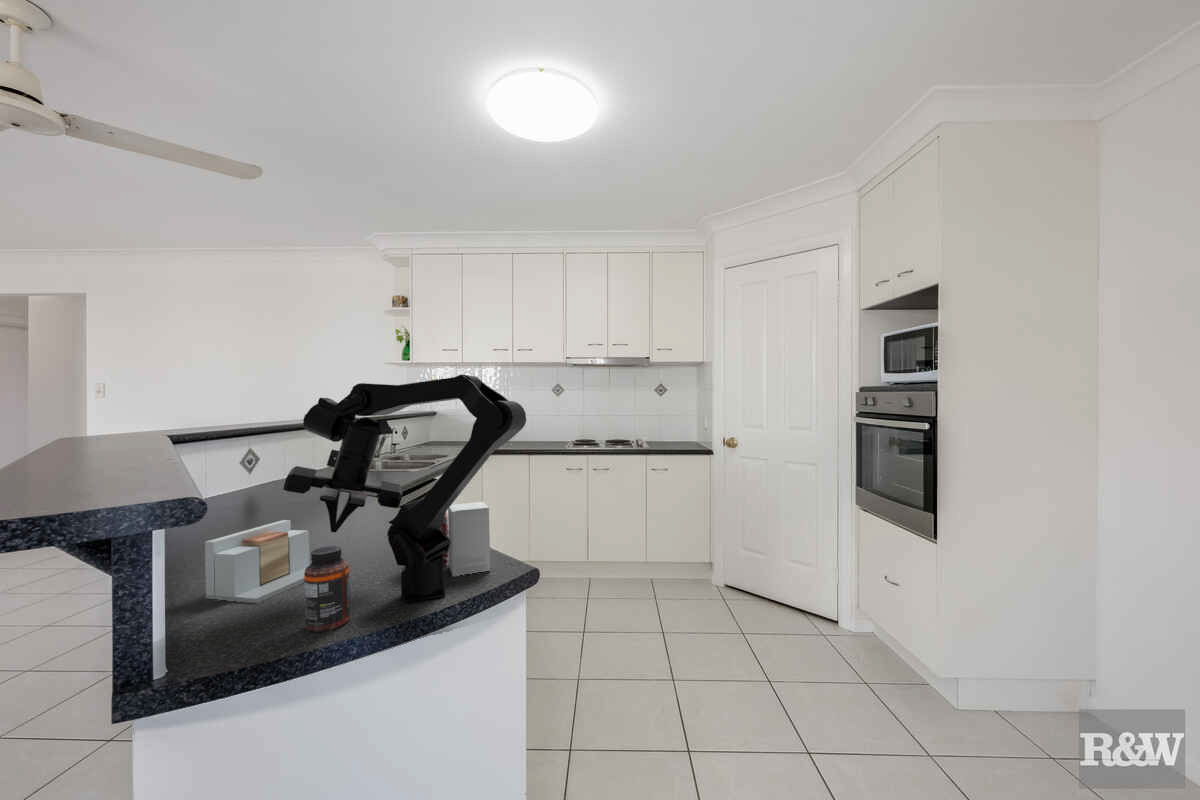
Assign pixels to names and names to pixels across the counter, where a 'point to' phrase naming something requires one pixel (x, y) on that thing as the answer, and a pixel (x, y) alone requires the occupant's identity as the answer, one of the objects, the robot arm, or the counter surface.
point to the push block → (271, 554)
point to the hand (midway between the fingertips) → (333, 531)
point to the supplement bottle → (327, 590)
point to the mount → (252, 565)
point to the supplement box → (469, 538)
